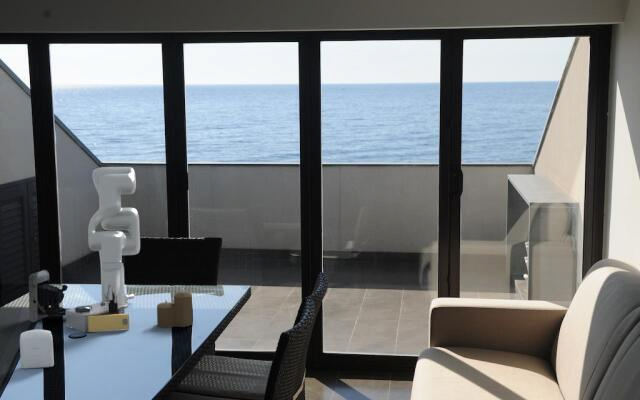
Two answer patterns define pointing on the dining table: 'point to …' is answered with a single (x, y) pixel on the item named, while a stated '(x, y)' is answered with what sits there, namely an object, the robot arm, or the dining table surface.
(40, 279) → the vintage camera
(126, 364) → the dining table surface
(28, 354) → the photo printer
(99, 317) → the ochre side door
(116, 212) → the robot arm
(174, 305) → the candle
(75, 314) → the aluminium camera mock-up
